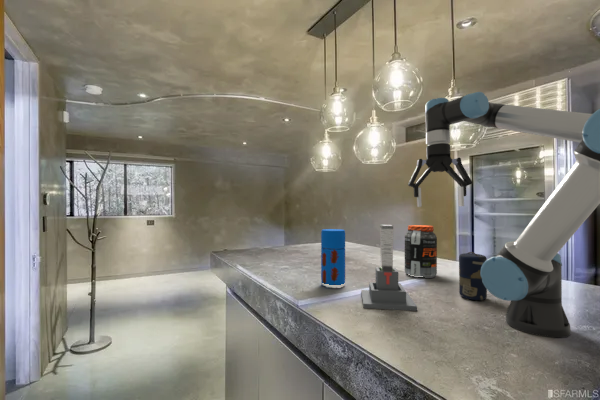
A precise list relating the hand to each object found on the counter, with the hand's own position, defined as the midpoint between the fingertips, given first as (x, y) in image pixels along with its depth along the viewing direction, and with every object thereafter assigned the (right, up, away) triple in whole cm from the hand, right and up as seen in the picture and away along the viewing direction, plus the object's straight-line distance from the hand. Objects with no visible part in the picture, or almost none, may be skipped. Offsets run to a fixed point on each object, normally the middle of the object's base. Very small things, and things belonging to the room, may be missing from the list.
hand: (440, 206), depth 104 cm
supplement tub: (+15, -37, +55) cm, 68 cm away
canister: (+20, -36, +15) cm, 44 cm away
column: (-15, -29, +11) cm, 35 cm away
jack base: (-15, -36, +11) cm, 40 cm away
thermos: (-33, -37, +34) cm, 60 cm away
